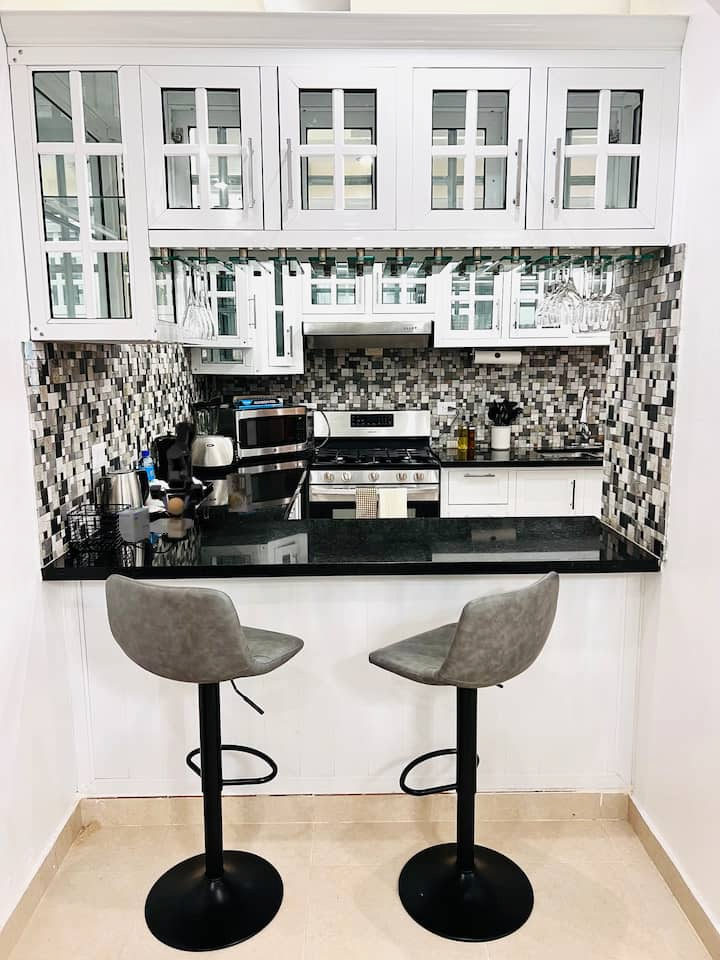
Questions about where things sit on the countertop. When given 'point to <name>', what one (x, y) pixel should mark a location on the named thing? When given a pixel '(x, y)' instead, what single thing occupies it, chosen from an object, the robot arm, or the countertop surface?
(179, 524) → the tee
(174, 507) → the ball
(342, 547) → the countertop surface
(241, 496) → the coffee box
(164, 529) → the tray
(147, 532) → the light bulb box
